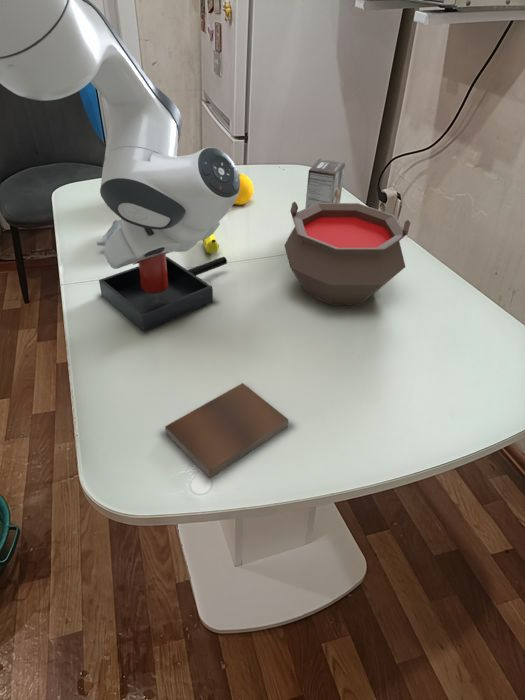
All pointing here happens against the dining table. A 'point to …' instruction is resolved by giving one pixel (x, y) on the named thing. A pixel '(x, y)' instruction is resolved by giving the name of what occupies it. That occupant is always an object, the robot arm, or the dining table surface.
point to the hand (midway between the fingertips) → (149, 254)
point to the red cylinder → (154, 274)
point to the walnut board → (226, 429)
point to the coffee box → (325, 182)
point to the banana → (211, 244)
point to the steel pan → (159, 294)
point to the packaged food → (109, 233)
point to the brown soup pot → (344, 250)
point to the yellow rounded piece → (244, 190)
